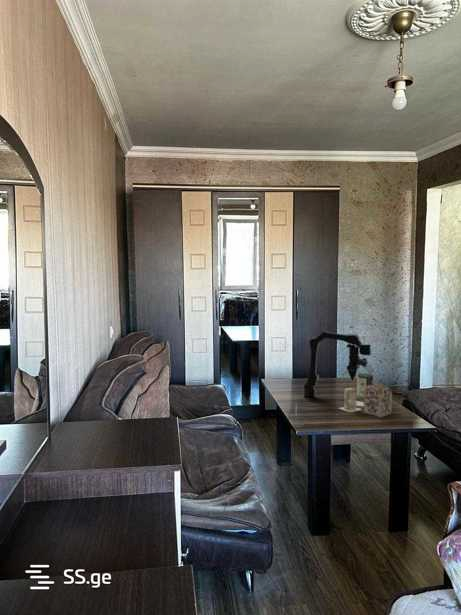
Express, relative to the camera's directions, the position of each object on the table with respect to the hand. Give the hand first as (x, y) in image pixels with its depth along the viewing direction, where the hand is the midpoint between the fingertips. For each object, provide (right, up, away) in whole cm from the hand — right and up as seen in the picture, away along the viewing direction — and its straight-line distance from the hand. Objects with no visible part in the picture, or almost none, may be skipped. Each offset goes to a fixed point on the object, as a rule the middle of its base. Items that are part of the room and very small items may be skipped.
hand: (353, 378), depth 290 cm
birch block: (-7, -16, -17) cm, 24 cm away
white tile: (-7, -16, -17) cm, 24 cm away
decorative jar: (+7, -17, -25) cm, 31 cm away
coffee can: (+11, -14, +14) cm, 23 cm away
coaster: (+3, -15, -7) cm, 17 cm away
